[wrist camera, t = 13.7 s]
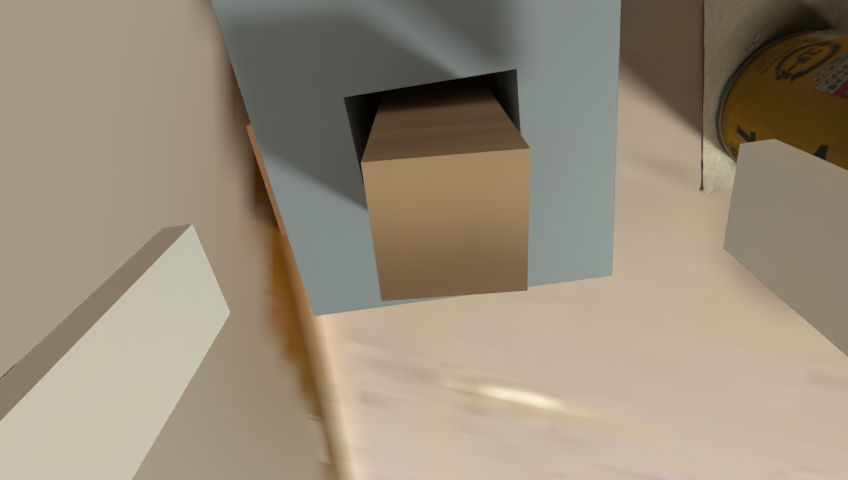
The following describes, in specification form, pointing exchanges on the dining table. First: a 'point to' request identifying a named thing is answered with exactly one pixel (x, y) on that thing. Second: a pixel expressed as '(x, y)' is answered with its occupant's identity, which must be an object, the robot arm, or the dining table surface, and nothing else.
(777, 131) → the condiment
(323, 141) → the socket block
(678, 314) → the dining table surface
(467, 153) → the plug
